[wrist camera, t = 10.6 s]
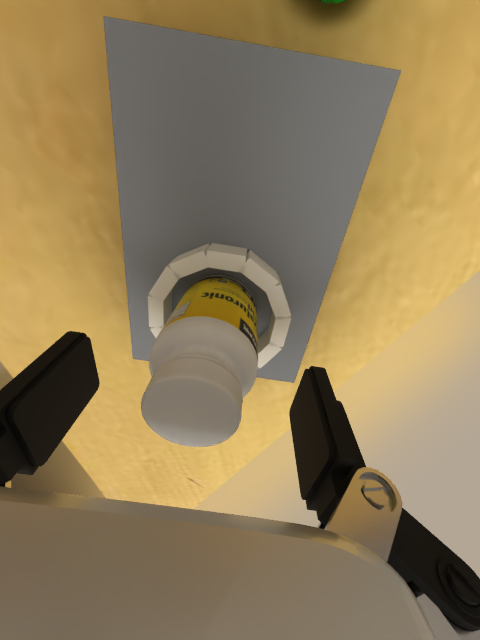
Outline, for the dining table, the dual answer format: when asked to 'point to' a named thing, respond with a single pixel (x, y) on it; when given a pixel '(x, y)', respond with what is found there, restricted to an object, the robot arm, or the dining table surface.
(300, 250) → the pin board
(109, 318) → the dining table surface
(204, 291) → the supplement bottle
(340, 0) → the polyhedron
